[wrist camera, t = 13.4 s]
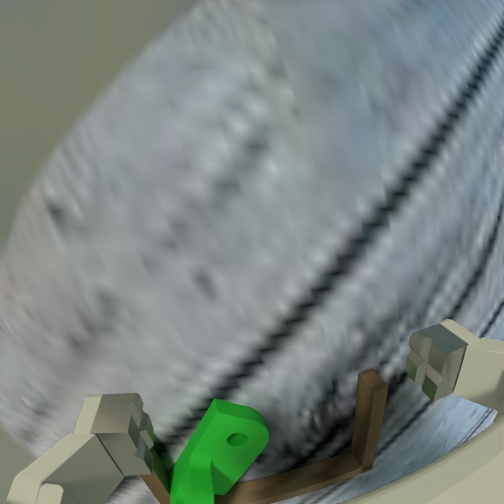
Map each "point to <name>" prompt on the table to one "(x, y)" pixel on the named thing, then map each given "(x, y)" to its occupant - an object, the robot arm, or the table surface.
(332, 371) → the table surface
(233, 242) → the table surface
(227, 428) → the mechanical part
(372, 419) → the walnut bay
